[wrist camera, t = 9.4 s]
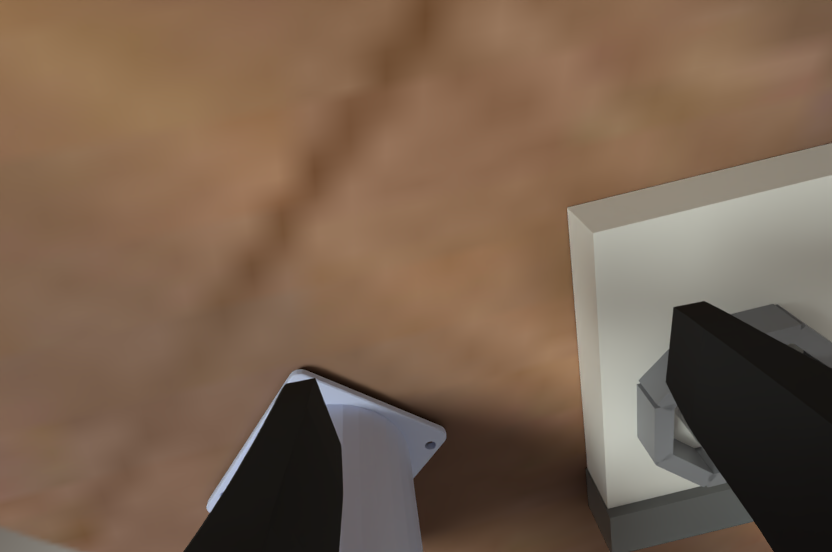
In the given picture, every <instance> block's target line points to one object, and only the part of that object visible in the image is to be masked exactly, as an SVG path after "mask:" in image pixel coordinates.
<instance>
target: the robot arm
mask: <svg viewBox="0 0 832 552" xmlns="http://www.w3.org/2000/svg"><path fill="white" fill-rule="evenodd" d="M666 384H667V386H668V388H669V390H670V392H671V394H672V396H673V398H674V400H675V402H676V404H677V406H678V408H679V410H680V412H681V413H682V415H683V417H684V419H685V421H686V423H687V425H688V426H689V428H690V430H691V431H692V433H693V434H694V436H695V437H696V439H697V440H698V442H699V443H700V444H701V446H702V447H703V449H704V450H705V452H706V453H707V455H708V456H709V458H710V459H711V460H712V462H713V463H714V465H715V466H716V468H717V469H718V471H719V472H720V473H721V475H722V476H723V478H724V479H725V481H726V482H727V483H728V485H729V486H730V488H731V489H732V491H733V492H734V493H735V495H736V496H737V498H738V499H739V501H740V502H741V504H742V505H743V506H744V508H745V509H746V511H747V512H748V514H749V515H750V516H751V518H752V519H753V521H754V522H755V524H756V525H757V526H758V528H759V529H760V531H761V532H762V534H763V536H764V537H765V539H766V540H767V542H768V543H769V545H770V546H771V548H772V550H773V551H774V552H832V368H830V367H828V366H826V365H824V364H822V363H820V362H818V361H816V360H814V359H812V358H810V357H808V356H807V355H805V354H803V353H801V352H799V351H797V350H795V349H793V348H791V347H789V346H788V345H786V344H784V343H782V342H780V341H778V340H776V339H775V338H773V337H771V336H769V335H767V334H765V333H764V332H762V331H760V330H758V329H756V328H754V327H753V326H751V325H749V324H747V323H745V322H743V321H742V320H740V319H738V318H736V317H734V316H732V315H731V314H729V313H727V312H725V311H723V310H721V309H719V308H717V307H716V306H714V305H712V304H710V303H708V302H705V301H702V302H696V303H691V304H686V305H681V306H676V307H673V316H672V326H671V335H670V345H669V354H668V364H667V373H666ZM445 440H446V431H445V429H444V428H443V427H442V426H440V425H438V424H435V423H433V422H430V421H428V420H426V419H423V418H421V417H418V416H416V415H413V414H411V413H409V412H406V411H404V410H401V409H399V408H396V407H394V406H392V405H389V404H387V403H384V402H382V401H380V400H377V399H375V398H372V397H370V396H367V395H365V394H363V393H360V392H358V391H355V390H353V389H350V388H348V387H346V386H343V385H341V384H338V383H336V382H334V381H331V380H329V379H326V378H324V377H321V376H319V375H317V374H314V373H312V372H309V371H307V370H303V369H298V370H295V371H293V372H292V373H291V374H290V375H289V377H288V378H287V380H286V381H285V383H284V385H283V386H282V388H281V389H280V391H279V392H278V394H277V395H276V397H275V398H274V400H273V401H272V403H271V405H270V406H269V408H268V409H267V411H266V412H265V414H264V415H263V417H262V418H261V420H260V421H259V423H258V424H257V426H256V428H255V429H254V431H253V432H252V434H251V435H250V437H249V438H248V440H247V441H246V443H245V444H244V446H243V448H242V449H241V451H240V452H239V454H238V455H237V457H236V458H235V460H234V461H233V463H232V464H231V466H230V468H229V469H228V471H227V472H226V474H225V475H224V477H223V478H222V480H221V481H220V483H219V484H218V486H217V488H216V489H215V491H214V492H213V494H212V495H211V497H210V498H209V500H208V504H207V507H206V508H207V511H208V512H209V513H210V514H209V515H208V517H207V518H206V520H205V521H204V523H203V524H202V526H201V527H200V529H199V530H198V532H197V533H196V535H195V536H194V537H193V539H192V540H191V542H190V543H189V545H188V546H187V547H186V549H185V550H184V552H423V547H422V540H421V532H420V525H419V518H418V510H417V503H416V496H415V489H414V481H413V478H414V477H415V476H416V475H417V474H418V472H419V471H420V470H421V469H422V468H423V467H424V465H425V464H426V463H427V462H428V461H429V459H430V458H431V457H432V456H433V455H434V453H435V452H436V451H437V450H438V449H439V447H440V446H441V445H442V444H443V443H444V442H445ZM430 441H432V443H427V442H430Z"/></svg>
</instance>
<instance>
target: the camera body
mask: <svg viewBox="0 0 832 552" xmlns="http://www.w3.org/2000/svg"><path fill="white" fill-rule="evenodd" d="M567 213H568V226H569V239H570V251H571V264H572V277H573V290H574V303H575V316H576V329H577V341H578V354H579V367H580V380H581V393H582V406H583V418H584V431H585V444H586V457H587V469H586V481H587V493H588V506H589V508H590V510H591V512H592V514H593V516H594V518H595V520H596V523H597V525H598V527H599V529H600V531H601V533H602V535H603V537H604V540H605V542H606V544H607V546H608V548H609V550H610V552H631V551H635V550H639V549H643V548H647V547H651V546H655V545H659V544H663V543H667V542H672V541H676V540H680V539H684V538H688V537H692V536H696V535H700V534H704V533H708V532H712V531H717V530H721V529H725V528H729V527H733V526H737V525H741V524H745V523H749V522H753V519H752V518H751V516H750V515H749V514H748V512H747V511H746V509H745V508H744V506H743V505H742V504H741V502H740V501H739V499H738V498H737V496H736V495H735V493H734V492H733V491H732V489H731V488H730V486H729V485H728V483H727V482H726V481H725V479H724V478H723V476H722V475H721V473H720V472H719V471H718V469H717V468H716V466H715V465H714V463H713V462H712V460H711V459H710V458H709V456H708V455H707V453H706V452H705V451H704V450H703V448H702V447H701V446H700V444H699V443H698V442H697V441H696V439H695V438H694V437H693V435H692V434H691V433H690V432H689V430H688V429H687V428H686V426H685V425H684V424H683V423H682V421H681V420H680V419H679V417H678V416H677V415H676V413H675V407H676V406H677V404H676V402H675V400H674V398H673V396H672V394H671V392H670V390H669V388H668V386H667V384H666V373H667V364H668V354H669V345H670V335H671V326H672V316H673V307H676V306H681V305H686V304H691V303H696V302H702V301H705V302H708V303H710V304H712V305H714V306H716V307H717V308H719V309H721V310H723V311H725V312H727V313H729V314H731V315H732V316H734V317H736V318H738V319H740V320H742V321H743V322H745V323H747V324H749V325H751V326H753V327H754V328H756V329H758V330H760V331H762V332H764V333H765V334H767V335H769V336H771V337H773V338H775V339H776V340H778V341H780V342H782V343H784V344H786V345H788V346H789V347H791V348H793V349H795V350H797V351H799V352H801V353H803V354H805V355H807V356H808V357H810V358H812V359H814V360H816V361H818V362H820V363H822V364H824V365H826V366H828V367H830V368H832V143H830V144H826V145H821V146H817V147H813V148H809V149H805V150H801V151H797V152H793V153H789V154H785V155H781V156H776V157H772V158H768V159H764V160H760V161H756V162H752V163H748V164H744V165H740V166H735V167H731V168H727V169H723V170H719V171H715V172H711V173H707V174H703V175H699V176H695V177H690V178H686V179H682V180H678V181H674V182H670V183H666V184H662V185H658V186H654V187H650V188H645V189H641V190H637V191H633V192H629V193H625V194H621V195H617V196H613V197H609V198H604V199H600V200H596V201H592V202H588V203H584V204H580V205H576V206H572V207H568V208H567Z"/></svg>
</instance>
